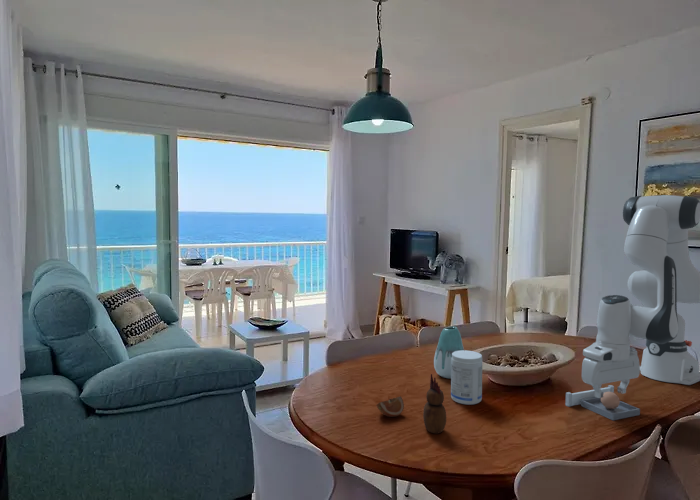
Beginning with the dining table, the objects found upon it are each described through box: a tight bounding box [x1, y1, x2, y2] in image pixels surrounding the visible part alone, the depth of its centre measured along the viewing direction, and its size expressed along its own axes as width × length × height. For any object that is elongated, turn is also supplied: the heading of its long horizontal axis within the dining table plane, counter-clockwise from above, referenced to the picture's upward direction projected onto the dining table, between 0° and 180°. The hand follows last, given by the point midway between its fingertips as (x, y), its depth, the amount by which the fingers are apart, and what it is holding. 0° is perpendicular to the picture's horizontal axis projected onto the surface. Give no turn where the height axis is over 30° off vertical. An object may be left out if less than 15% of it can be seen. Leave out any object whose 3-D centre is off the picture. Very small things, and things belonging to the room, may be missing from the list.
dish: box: [580, 397, 641, 421], centre depth 139 cm, size 11×11×2 cm
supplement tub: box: [450, 349, 483, 406], centre depth 146 cm, size 10×10×15 cm
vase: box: [433, 326, 465, 380], centre depth 168 cm, size 12×12×18 cm
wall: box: [565, 384, 615, 407], centre depth 145 cm, size 19×1×4 cm, turn 112°
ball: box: [601, 392, 621, 409], centre depth 139 cm, size 5×5×5 cm
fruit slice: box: [376, 395, 405, 418], centre depth 134 cm, size 8×7×5 cm
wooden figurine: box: [422, 373, 447, 434], centre depth 124 cm, size 7×6×15 cm
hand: (610, 395), depth 139 cm, fingers open, 8 cm apart
